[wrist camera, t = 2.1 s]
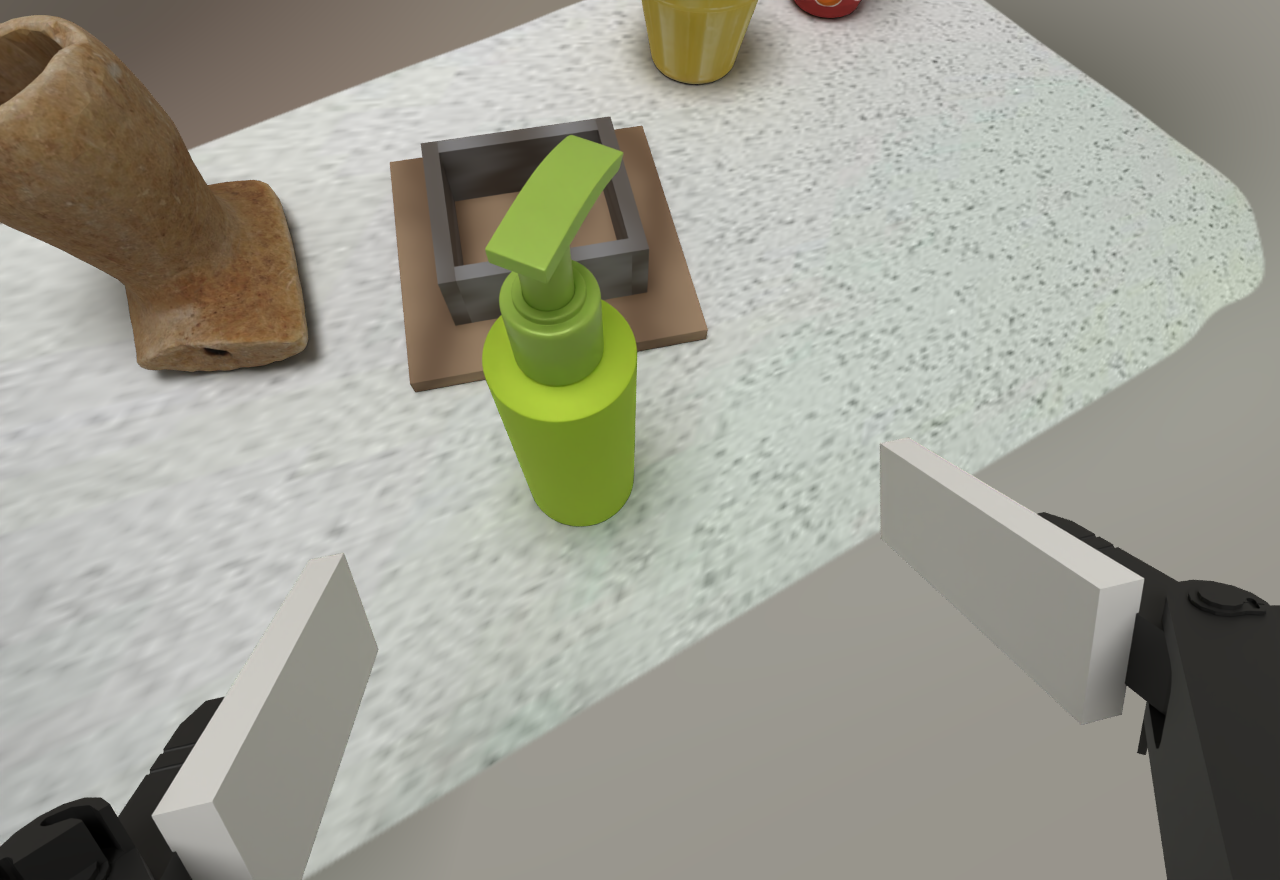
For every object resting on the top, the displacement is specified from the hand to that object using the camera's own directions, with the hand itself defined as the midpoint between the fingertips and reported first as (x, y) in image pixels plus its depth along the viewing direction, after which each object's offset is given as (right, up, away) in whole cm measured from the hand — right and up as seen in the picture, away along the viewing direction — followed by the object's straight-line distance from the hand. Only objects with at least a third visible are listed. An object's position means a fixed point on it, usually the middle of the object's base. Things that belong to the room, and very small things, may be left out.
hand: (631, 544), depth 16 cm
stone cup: (-27, +12, +26) cm, 39 cm away
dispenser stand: (-6, +15, +27) cm, 32 cm away
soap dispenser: (-3, +1, +21) cm, 21 cm away
